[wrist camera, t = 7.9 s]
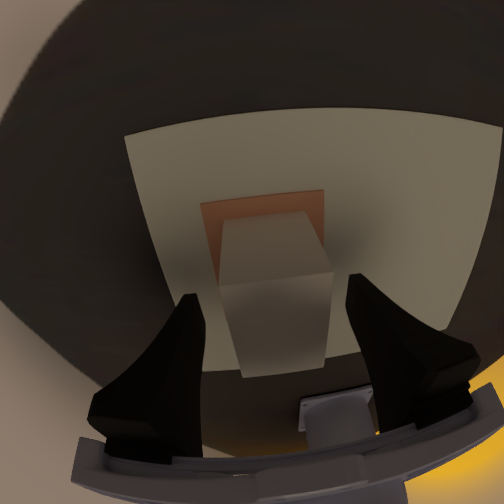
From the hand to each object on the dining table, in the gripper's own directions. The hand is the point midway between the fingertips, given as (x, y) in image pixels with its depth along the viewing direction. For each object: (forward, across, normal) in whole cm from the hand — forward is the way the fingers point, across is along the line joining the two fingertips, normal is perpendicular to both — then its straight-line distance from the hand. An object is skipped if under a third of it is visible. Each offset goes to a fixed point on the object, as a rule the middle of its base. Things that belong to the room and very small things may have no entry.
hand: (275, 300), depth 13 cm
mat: (+3, -5, +1) cm, 6 cm away
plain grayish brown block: (+3, 0, 0) cm, 3 cm away
